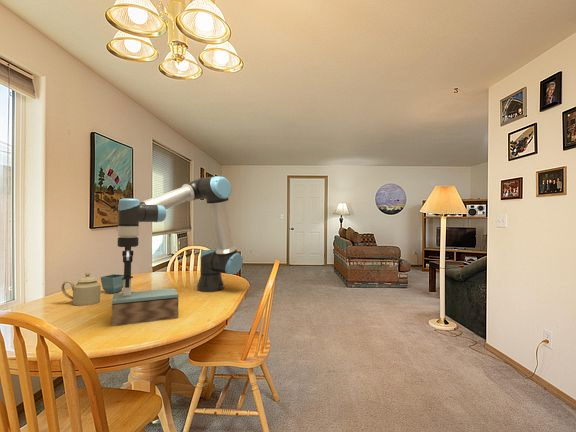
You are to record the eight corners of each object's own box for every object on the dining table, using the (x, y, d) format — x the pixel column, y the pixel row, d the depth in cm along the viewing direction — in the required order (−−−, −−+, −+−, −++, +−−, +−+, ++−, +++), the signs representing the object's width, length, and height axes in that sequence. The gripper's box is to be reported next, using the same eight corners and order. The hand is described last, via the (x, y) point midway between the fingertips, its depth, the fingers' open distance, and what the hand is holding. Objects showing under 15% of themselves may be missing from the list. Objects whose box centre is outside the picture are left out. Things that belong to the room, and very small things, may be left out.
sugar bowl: (65, 309, 136) (66, 275, 137) (60, 303, 144) (61, 271, 144) (103, 302, 147) (103, 271, 147) (96, 298, 155) (97, 268, 155)
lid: (174, 291, 140) (174, 288, 140) (178, 297, 127) (178, 294, 127) (113, 296, 129) (113, 293, 129) (111, 303, 116) (112, 300, 117)
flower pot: (99, 293, 164) (100, 276, 164) (113, 289, 173) (113, 273, 173) (112, 295, 162) (113, 278, 162) (126, 291, 170) (126, 275, 170)
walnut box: (173, 308, 140) (174, 291, 140) (178, 317, 127) (178, 298, 127) (113, 315, 129) (113, 296, 129) (111, 326, 116) (111, 305, 116)
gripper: (118, 235, 128) (117, 292, 128) (117, 237, 117) (115, 300, 117) (138, 235, 132) (137, 290, 132) (138, 237, 120) (137, 298, 120)
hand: (127, 295), depth 124 cm, fingers closed
